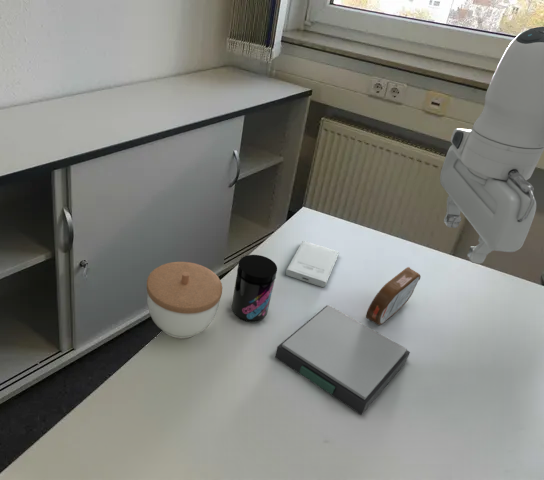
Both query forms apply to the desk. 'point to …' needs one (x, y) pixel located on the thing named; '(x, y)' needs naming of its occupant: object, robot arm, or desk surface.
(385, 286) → the tin
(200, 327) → the lidded bowl
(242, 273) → the supplement container
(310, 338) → the scale
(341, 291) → the desk surface
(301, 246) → the hard drive
